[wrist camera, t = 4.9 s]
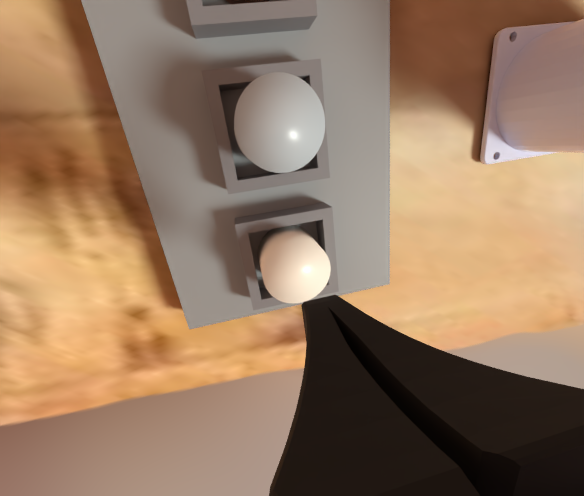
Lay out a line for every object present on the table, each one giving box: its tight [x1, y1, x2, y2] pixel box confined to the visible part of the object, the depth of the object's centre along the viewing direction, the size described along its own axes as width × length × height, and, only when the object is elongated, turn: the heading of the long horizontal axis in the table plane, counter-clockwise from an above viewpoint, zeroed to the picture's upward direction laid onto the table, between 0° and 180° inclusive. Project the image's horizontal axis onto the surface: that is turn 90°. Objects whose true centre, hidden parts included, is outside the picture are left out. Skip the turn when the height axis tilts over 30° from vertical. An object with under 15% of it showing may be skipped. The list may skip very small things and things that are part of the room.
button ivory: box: [258, 225, 331, 304], centre depth 16 cm, size 4×4×3 cm
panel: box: [81, 0, 390, 329], centre depth 15 cm, size 14×22×4 cm, turn 8°
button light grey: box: [234, 72, 325, 173], centre depth 12 cm, size 4×4×3 cm
